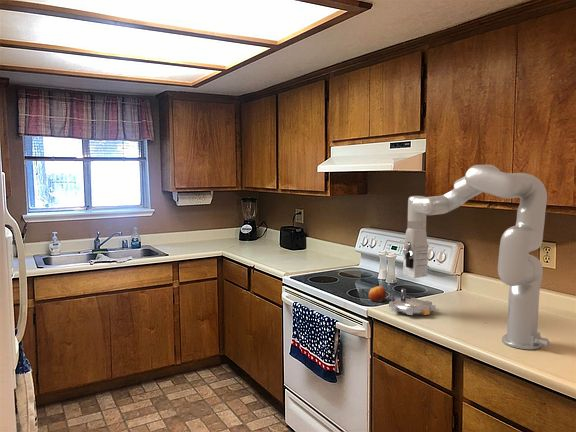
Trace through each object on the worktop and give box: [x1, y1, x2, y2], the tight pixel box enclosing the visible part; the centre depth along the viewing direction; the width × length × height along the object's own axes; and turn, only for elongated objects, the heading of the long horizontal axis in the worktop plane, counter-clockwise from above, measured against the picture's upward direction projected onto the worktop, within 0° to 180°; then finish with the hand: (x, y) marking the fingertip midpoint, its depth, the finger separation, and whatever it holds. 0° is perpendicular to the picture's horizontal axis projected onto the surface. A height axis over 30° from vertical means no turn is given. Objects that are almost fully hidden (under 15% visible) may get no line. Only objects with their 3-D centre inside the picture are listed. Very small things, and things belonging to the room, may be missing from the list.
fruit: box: [368, 285, 387, 303], centre depth 218 cm, size 8×8×8 cm
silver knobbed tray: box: [388, 288, 437, 316], centre depth 200 cm, size 19×19×7 cm
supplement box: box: [402, 247, 429, 279], centre depth 197 cm, size 7×7×13 cm
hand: (415, 265), depth 197 cm, fingers closed on supplement box, 8 cm apart
